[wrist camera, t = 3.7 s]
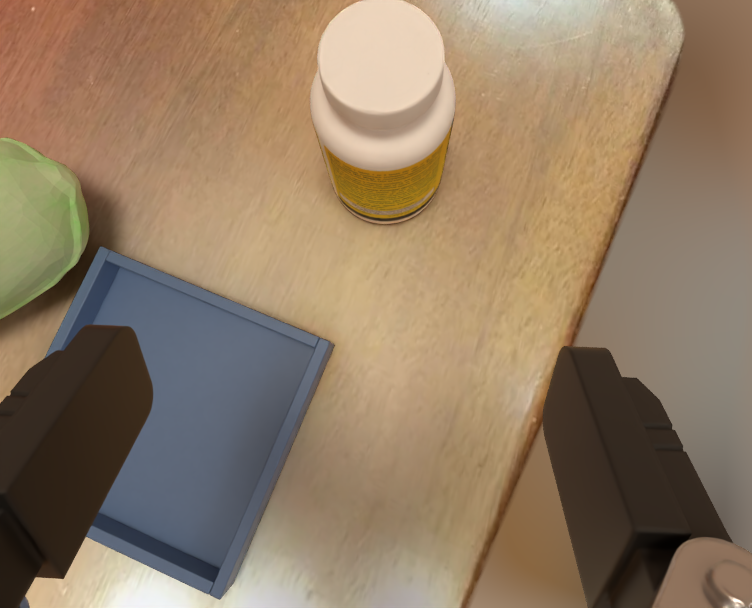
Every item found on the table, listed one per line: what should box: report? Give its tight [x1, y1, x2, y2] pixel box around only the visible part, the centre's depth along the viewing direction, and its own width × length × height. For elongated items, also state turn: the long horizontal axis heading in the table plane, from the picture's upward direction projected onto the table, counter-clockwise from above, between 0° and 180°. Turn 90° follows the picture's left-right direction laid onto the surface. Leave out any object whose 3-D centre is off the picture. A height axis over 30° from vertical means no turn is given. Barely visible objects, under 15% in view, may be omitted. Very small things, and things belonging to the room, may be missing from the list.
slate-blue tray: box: [45, 246, 334, 599], centre depth 27 cm, size 13×13×2 cm
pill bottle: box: [310, 0, 456, 224], centre depth 25 cm, size 6×6×11 cm
